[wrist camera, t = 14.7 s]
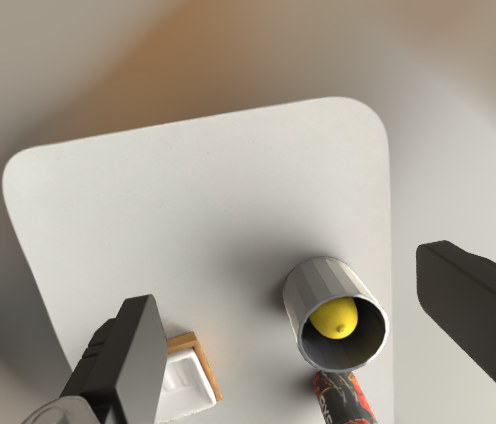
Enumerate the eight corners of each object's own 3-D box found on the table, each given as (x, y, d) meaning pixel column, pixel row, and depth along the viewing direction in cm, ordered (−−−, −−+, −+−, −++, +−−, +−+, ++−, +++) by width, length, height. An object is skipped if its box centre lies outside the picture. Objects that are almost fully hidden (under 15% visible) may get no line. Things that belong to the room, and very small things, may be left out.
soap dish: (198, 321, 45) (195, 346, 40) (223, 378, 48) (223, 408, 43) (108, 350, 45) (94, 380, 40) (138, 405, 48) (129, 439, 43)
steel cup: (277, 264, 43) (292, 303, 35) (354, 250, 44) (386, 285, 35) (287, 329, 46) (303, 380, 38) (359, 316, 47) (390, 363, 38)
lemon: (335, 266, 43) (359, 300, 36) (348, 301, 45) (374, 341, 38) (294, 283, 44) (310, 320, 36) (309, 317, 45) (326, 360, 38)
